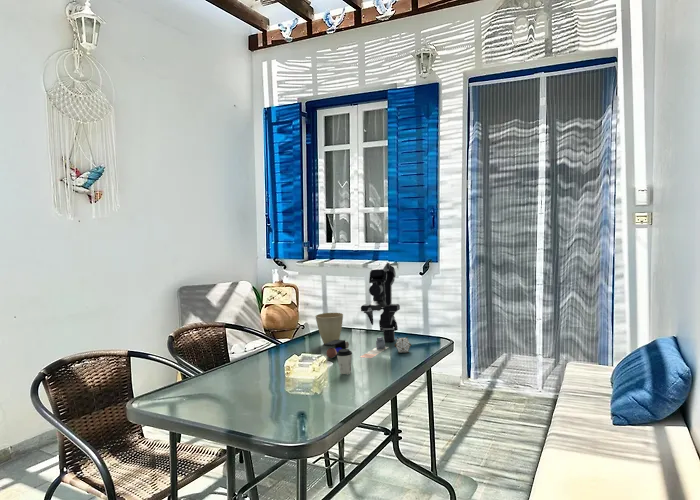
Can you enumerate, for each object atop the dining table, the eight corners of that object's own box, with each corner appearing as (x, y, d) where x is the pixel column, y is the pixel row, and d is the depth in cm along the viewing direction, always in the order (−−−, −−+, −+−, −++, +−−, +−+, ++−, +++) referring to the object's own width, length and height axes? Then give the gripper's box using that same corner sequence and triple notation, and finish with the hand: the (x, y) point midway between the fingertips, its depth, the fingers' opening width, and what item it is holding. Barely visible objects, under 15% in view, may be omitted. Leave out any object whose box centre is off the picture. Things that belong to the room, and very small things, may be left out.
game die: (406, 359, 244) (415, 341, 246) (406, 357, 236) (415, 339, 238) (390, 350, 246) (399, 333, 248) (389, 348, 238) (399, 330, 240)
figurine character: (337, 353, 256) (322, 358, 242) (337, 338, 256) (322, 342, 242) (349, 354, 252) (335, 359, 239) (349, 339, 253) (334, 343, 239)
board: (376, 346, 258) (376, 345, 258) (392, 347, 254) (392, 346, 254) (356, 358, 239) (356, 357, 239) (373, 359, 234) (373, 358, 234)
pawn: (378, 346, 255) (378, 336, 255) (386, 347, 253) (385, 336, 253) (375, 349, 252) (374, 338, 251) (382, 349, 249) (382, 338, 249)
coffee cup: (356, 373, 215) (355, 350, 215) (342, 376, 212) (341, 353, 211) (348, 369, 221) (346, 347, 221) (334, 373, 218) (333, 350, 217)
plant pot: (325, 349, 260) (323, 319, 259) (313, 344, 273) (310, 315, 272) (350, 344, 267) (348, 314, 266) (336, 339, 280) (334, 311, 279)
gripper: (356, 296, 243) (358, 328, 244) (393, 295, 237) (395, 328, 237) (363, 293, 254) (365, 323, 254) (399, 292, 247) (401, 323, 247)
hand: (381, 324), depth 248 cm, fingers open, 9 cm apart
